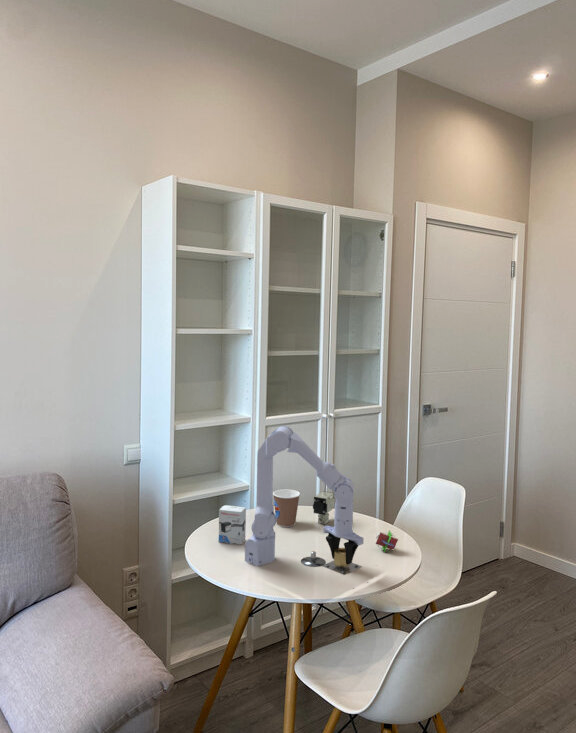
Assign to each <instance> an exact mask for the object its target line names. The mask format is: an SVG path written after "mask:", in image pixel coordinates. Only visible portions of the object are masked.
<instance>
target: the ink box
mask: <svg viewBox="0 0 576 733" xmlns="http://www.w3.org/2000/svg"><path fill="white" fill-rule="evenodd" d="M246 517H247V508H246V507H244V506H243V507H242V506H236V505H223V506H221V507H220V508H219V509H218V542H219V541H220V542H219V543H223V542H228V543H227V544H232V543H236V544H235V545H240V544H241V545H242V544H243V543H244V542H246V533H247V532H246V526H247V524H246V522H247V521H246V520H247V518H246Z"/></svg>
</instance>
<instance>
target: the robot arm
mask: <svg viewBox="0 0 576 733" xmlns="http://www.w3.org/2000/svg"><path fill="white" fill-rule="evenodd" d="M285 450H287V453H296V454H298V455H299V456H300V457H302V458H303V460H305V461H306V462H307V463H308V464H309V465H310V466H311V467H313V468H314V469H315V472H316V477H318V479H320V481H322V482H323V483H324V484H325V485H326V486H327V487H328V489H330V490H331V491H332V492H333V493H334V498H335V506H334V519H333V520H334V522H333V526H330V525H328V524H327V525H324V526H323V527H322V528H323V529H322V530H323V533H324V534H328V535H327V536H325V541H326V542H327V543H328V547H329V549H330V552H331V553H330V554H331V559H333V560H334V549H336V548H340V542H341V539H344V540H345V541H346V542H344V543H343V548H345V551H346V564H350V563H353V560H354V556H355V553H356V551H357V550H358V547H359V546H362V545H363V544H364V538H365V537H363V536H360V535H358V533H355V532H354V529H353V525H354V524H353V523H354V522H353V521H354V520H353V518H354V503H353V502H354V491H355V485H354V482H353V481H352V479H351V478H348V477H347V476H346V475H344V474H342V473H341V472H340V471H339V470H338V469H337V468H336V467H337V466H336V464H335V463H331V462H330V461H327V462H326V461H323V459H321V458H320V457H319V455H317V453H316V452H314V450H313V449H311V447H310V446H309V445H308V444H307V443H306V442H305V441H304V440H303V439H302V437H301V436H300V435H299V434H298V433H296V432H295V431H294V430H293V429H292V428H290V427H289V426H286V425H282V426H279V427H278V428H276V429H275V430H273V431H272V432H271V434H269V435H268V436H267V437H266V438H265V440H264V441H263V442H262V444H261V445H260V447H259V449H258V450H257V452H256V453H257V455H256V457H257V458H256V460H257V461H256V467H257V468H256V469H257V470H256V472H257V474H256V479H257V480H256V483H257V484H256V508H255V513H254V519H253V522H252V524H251V531H252V535H251V536H250V538H248V539H247V540H245V543H244V561H245V562H246V563H248V564H251V565H253V566H256V567H260V566H262V565H265V564H270V563H273V562H274V561H275V558H276V557H275V555H276V532H275V530H274V527H275V526H276V525H277V522H276V520H277V519H276V516H275V506H274V505H273V504H274V503H273V492H274V491H273V487H274V486H273V483H274V481H273V480H274V475H273V474H274V472H273V471H274V470H273V469H274V456H275V455H277V454H278V453H281V452H283V451H285Z"/></svg>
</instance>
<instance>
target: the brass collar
mask: <svg viewBox="0 0 576 733" xmlns="http://www.w3.org/2000/svg"><path fill="white" fill-rule="evenodd" d="M333 561H334V564H335V565H337V566H341V567H346V566H349V565H350V564H346V551H345V547H339V548H336V549H334V559H333Z"/></svg>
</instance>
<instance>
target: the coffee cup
mask: <svg viewBox="0 0 576 733" xmlns="http://www.w3.org/2000/svg"><path fill="white" fill-rule="evenodd" d="M272 496H273V504H274V505H273V506H274V514H275V516H276V519H277V520H276V526H278V527H280V528H291V527H294V526H296V523H297V522H296V521H297V513H298V506H299V500H300V496H301V493H300V492H299V491H298V490H294V489H284V488H283V489H282V488H281V489H278V490H277V489H276V490H275V491H273V494H272Z"/></svg>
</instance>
